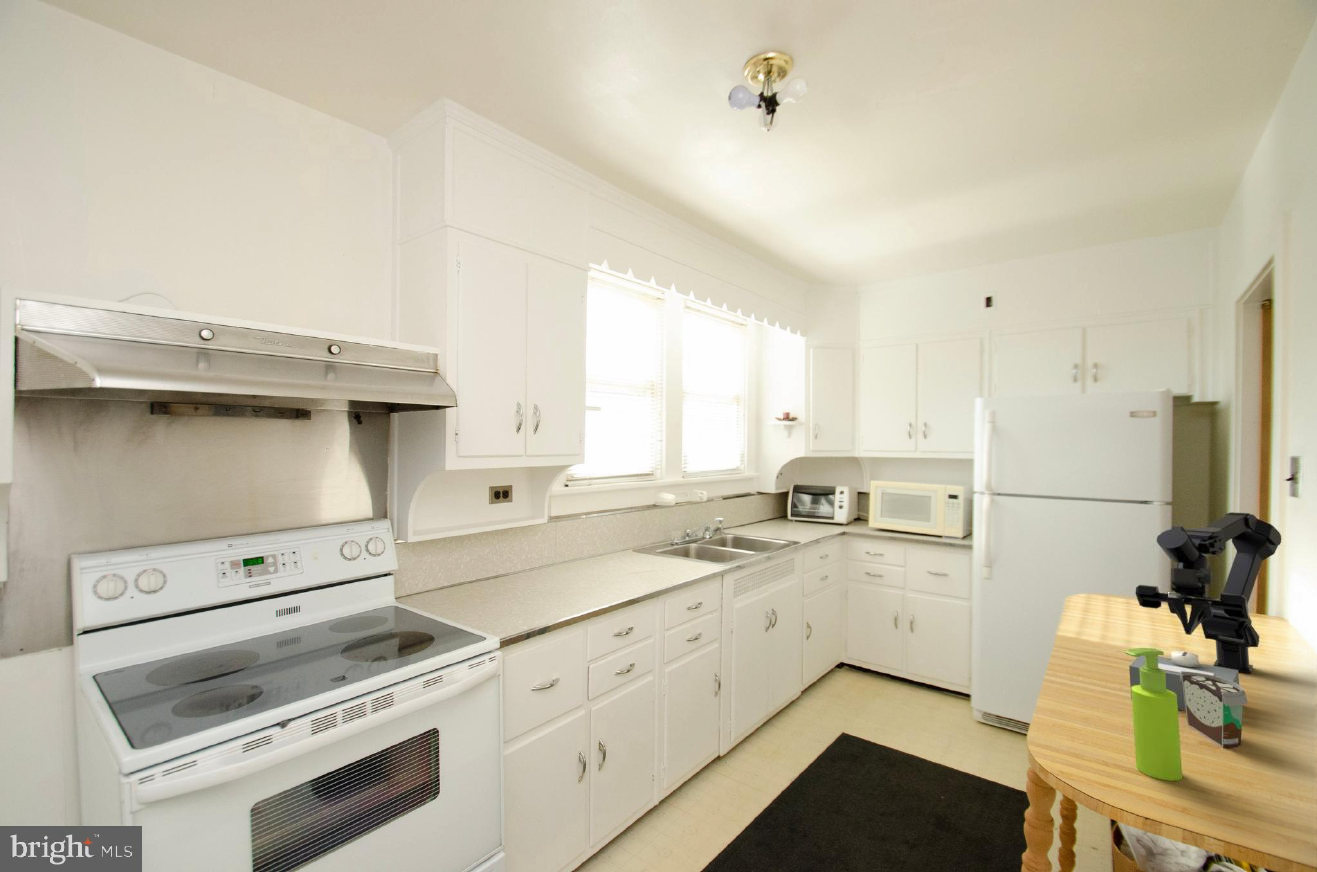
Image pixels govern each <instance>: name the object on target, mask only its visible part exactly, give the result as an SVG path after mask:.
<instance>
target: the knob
mask: <svg viewBox="0 0 1317 872" xmlns="http://www.w3.org/2000/svg"><path fill="white" fill-rule="evenodd" d="M1170 653H1171V655H1170V658H1171V659H1172V663H1174V664H1177V665H1181V666H1186V667H1198V666H1199V663H1200V661H1199V655H1198V654H1195V653H1193V652H1188V651H1184V650H1183V651H1181V650H1172V651H1170Z"/></svg>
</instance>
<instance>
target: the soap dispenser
mask: <svg viewBox="0 0 1317 872" xmlns="http://www.w3.org/2000/svg"><path fill="white" fill-rule="evenodd" d="M1124 654H1126V655H1128V656H1131V657H1134V658H1137V657H1139V656H1144V655H1145V666H1143V667H1140V668H1139V672H1140V685H1135V686H1132V687H1131V686H1130V694H1131V693H1132V699H1131V706H1132V721H1133V723H1132V724H1133V737H1134V739H1133V740H1134V751H1135V753H1134V754H1135V767H1136V769H1137V770H1138V771H1139V772H1141V773H1143V774H1144V775H1146V776H1149V777H1152V778H1155V779H1158V780H1163V781H1173V782H1174V781H1180V780H1182V778H1183V768H1182V753H1181V740H1180V739H1181V737H1180V722H1179V721H1180V720H1179V711H1178V710H1179V709H1178V706H1177V695H1176V694H1175V693H1174V692H1172V691H1170V690H1167V689H1166V674H1165V671H1164V670H1162V669H1160V668H1158V656H1165V654H1164V651H1163V650H1161V649H1156V648H1153V647H1136V648H1131V649H1127V650H1125V651H1124Z"/></svg>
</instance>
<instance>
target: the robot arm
mask: <svg viewBox="0 0 1317 872" xmlns="http://www.w3.org/2000/svg"><path fill="white" fill-rule="evenodd" d="M1230 540H1231V542H1232V544H1233V547H1234V549H1235V550H1236V553H1235V556H1234V558H1233V561H1232V564H1231V568H1230V570H1229V572H1228V573H1229V574H1228V575H1227V578H1226V582H1225V584H1224V587H1223V590H1222V592H1221V593H1220V597H1219V598H1218V597H1217V598H1216V597H1208V585H1213V570H1212V569H1211V567H1210V565H1209V558H1208V557H1206V556H1213V557H1214V556H1215V557H1216V556H1217V557H1219V556H1220V555H1221V554H1222V553H1223V552H1224V551H1225V549H1227V547H1226V542H1228V541H1230ZM1156 543H1157V545H1158V546H1159V547H1160V549H1161V550H1162V551H1163V552H1164V554H1165V555H1166V556H1167V558H1168V559H1169V560H1170V561H1172V562H1173V563H1175V567H1172V568H1171V569H1170V583H1171V584H1170V589H1171V591H1167V592H1166V593H1164V592H1160V590H1159V586H1157V585H1146V584H1139V585H1138V586H1136V587H1135V596H1136V600H1137V602H1138V604H1139V606H1140V607H1142V608H1148V609H1155V610H1158V609H1159V608H1161V607H1162V603H1167V606H1168V609H1169V611H1170V614H1173V615H1174V614H1175V615H1176V616H1177V617H1178V619H1179V621H1180V623H1181V625H1182V628H1183V630H1184V633H1185V635H1188V636H1190V635H1191V636H1192V634H1193V633H1194V631H1195V630H1196V629H1197V628H1198V626H1199V625H1200V624H1201V628H1202V631H1203V635H1204V638H1205V639H1206V640H1211V641H1212V640H1213V641H1215V649H1216V652H1215V653H1216V660H1215V661H1214V663H1213V666H1217V667H1223V668H1229V669H1235V670H1238V672H1240V673H1247V674H1252V670H1253V668H1254V664H1250V658H1249V657H1250V656H1249V648H1258V647H1259V645H1260V635H1259V634H1258V632H1257V631H1256V629H1255V628H1254V626H1253V624H1252V619H1251V617H1250V614H1249V605H1248V604H1249V601H1250V599H1251V595H1252V593H1253V589H1254V587H1255V583H1256V580H1257V578H1258V575H1259V571H1260V568H1261V566H1262V563H1263V561H1265V560H1267V559H1268V558H1270V557H1271V556H1273V555H1275V553H1276V551H1277V549H1278V547H1279V546H1280V545H1281V543H1282V535H1281V532H1280V531H1279V530H1278V529H1277V528H1276V527H1275V526H1274V525H1273V524H1271V523H1268V522H1266V521H1264V520H1262V519H1259V518H1258V517H1256V516H1255V514H1251V513H1250V512H1248V513H1247V512H1232V511H1231V512H1227V513H1225V514H1224V516H1222V517H1221V518H1219V519H1217V520H1216V521H1213V522H1212V523H1209V524H1208V525H1206V526H1203V527H1190V528H1186V529H1185V528H1184V526H1180V525H1172V527H1171V528H1170V529H1167V530H1164V531H1163V532H1161V533H1160V534H1158V535H1157V537H1156ZM1186 606H1190V613H1189V618H1188V611H1187V609H1186Z"/></svg>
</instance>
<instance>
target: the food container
mask: <svg viewBox="0 0 1317 872" xmlns="http://www.w3.org/2000/svg"><path fill="white" fill-rule="evenodd" d="M1180 681H1182V685H1183V692H1184V700H1185V707H1186V711H1185V713H1186V721H1187V727H1189V728H1191V729H1193V730H1194V731H1196V732H1198V733H1199V734H1200V735H1202V736H1204V737H1205V738H1207V739H1208V740H1210V741H1211V742H1213V743H1214V744H1216V745H1217V746H1219V747H1220V748H1222V749H1235V748H1239V747H1241V746H1242V734H1243V733H1242V731H1243V730H1242V729H1243V728H1242V727H1243V706H1244V705H1246V704H1248V701H1249V700H1248V697H1247V695H1246V691H1245V690H1244V689H1243V687H1242V686H1241V685H1240V683H1239V684H1237V683H1235V682H1232V681H1230V680H1227V679H1224V678H1220V677H1216V676H1212V675H1207V674H1202V673H1195V672H1185V671H1181V674H1180Z"/></svg>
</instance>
